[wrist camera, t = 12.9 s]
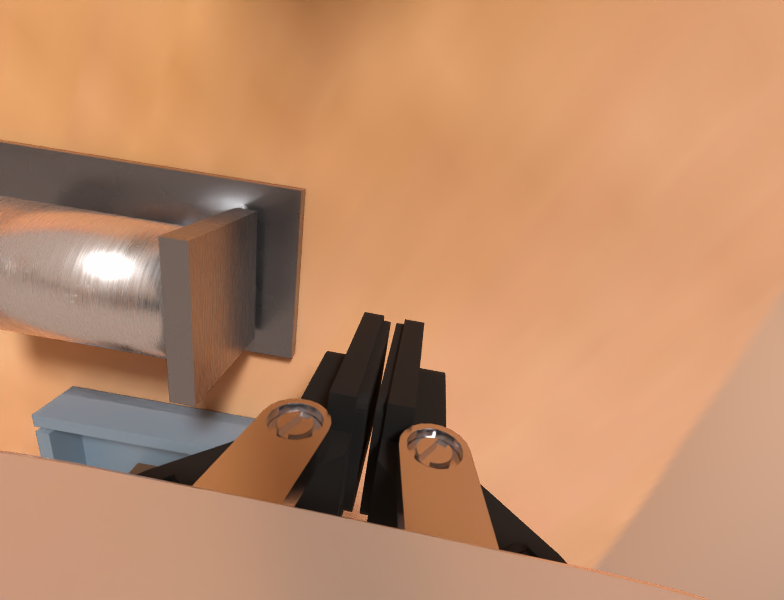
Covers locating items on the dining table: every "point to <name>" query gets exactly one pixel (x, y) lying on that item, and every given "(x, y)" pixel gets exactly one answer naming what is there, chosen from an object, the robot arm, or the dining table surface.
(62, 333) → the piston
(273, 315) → the rail
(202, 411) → the tray
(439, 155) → the dining table surface
